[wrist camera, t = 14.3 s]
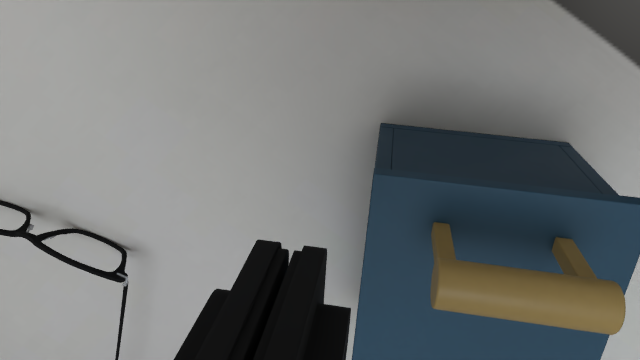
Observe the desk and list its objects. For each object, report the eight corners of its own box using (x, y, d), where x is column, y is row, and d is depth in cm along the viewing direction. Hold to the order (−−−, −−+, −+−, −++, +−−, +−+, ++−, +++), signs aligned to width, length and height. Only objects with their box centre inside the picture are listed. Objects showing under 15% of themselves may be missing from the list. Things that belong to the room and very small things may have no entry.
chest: (380, 122, 31) (372, 185, 22) (568, 142, 29) (641, 217, 20) (359, 301, 36) (346, 410, 27) (517, 324, 35) (557, 446, 26)
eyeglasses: (157, 249, 37) (130, 280, 33) (128, 392, 44) (103, 430, 40) (-47, 176, 37) (-96, 198, 34) (-46, 329, 44) (-86, 361, 40)
